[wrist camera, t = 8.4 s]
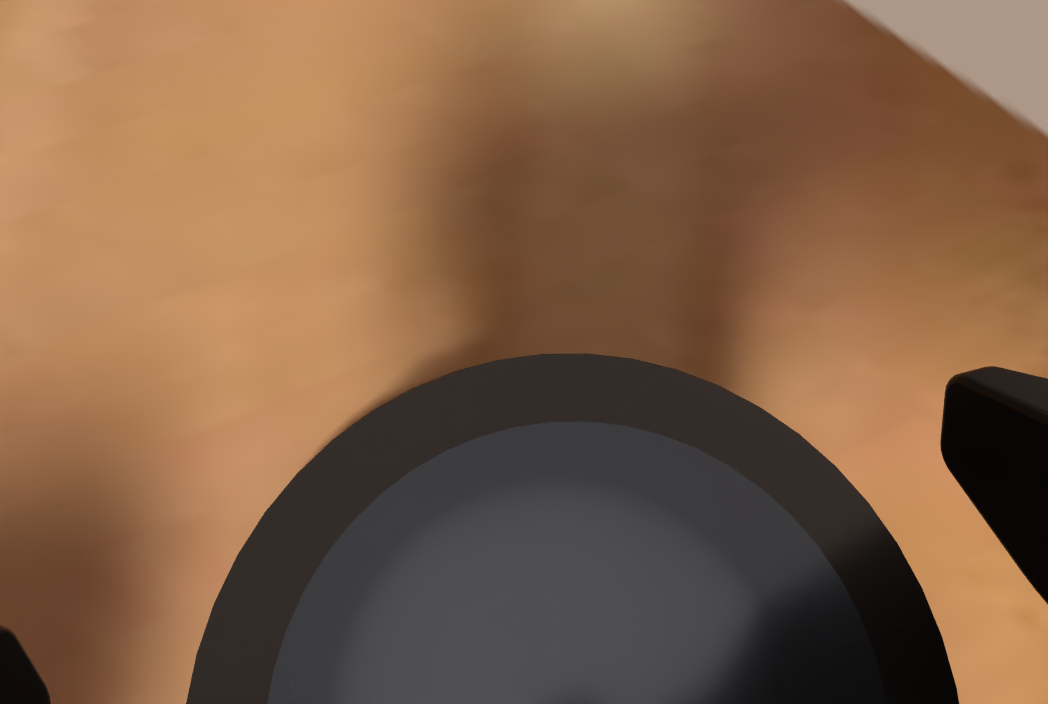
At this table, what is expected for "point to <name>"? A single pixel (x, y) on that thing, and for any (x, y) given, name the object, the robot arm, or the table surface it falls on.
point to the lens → (571, 557)
